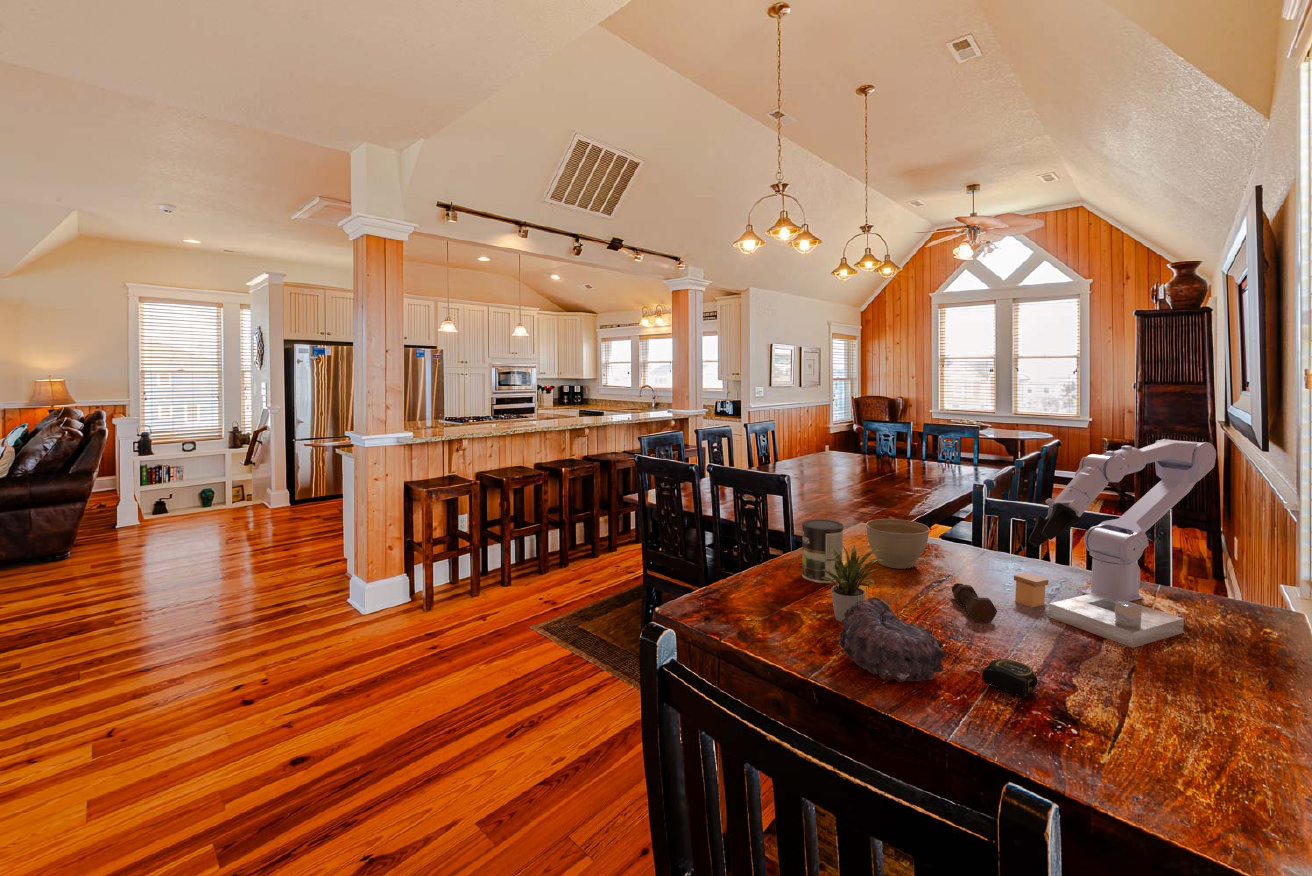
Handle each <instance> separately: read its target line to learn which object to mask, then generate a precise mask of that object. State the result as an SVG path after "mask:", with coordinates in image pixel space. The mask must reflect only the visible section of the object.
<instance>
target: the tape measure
mask: <svg viewBox="0 0 1312 876" xmlns="http://www.w3.org/2000/svg"><path fill="white" fill-rule="evenodd" d="M981 678H982V680H983V682H984V683H986V684H987V685H989V686H992V687H993V688H997V689H999V690H1002V691H1005V692H1007V693H1010V694H1012V695H1014V696H1018V697H1020V698H1024V699H1026V698H1027V696H1028V694H1031V693H1032V692H1034V690H1035V688H1036V686H1037V684H1038V678H1037V676H1036V674H1035V673H1034V670H1033V669H1032V668H1031V666H1029V665H1026V664H1025V663H1023V662H1021V661H1018V660H1017V661H1016V660H1012V659H1008V658H999V659H998V658H997V659H993V660H991V661H990V663H988V665H987V666H986V667H985V668H983V669H982V672H981Z"/></svg>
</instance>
